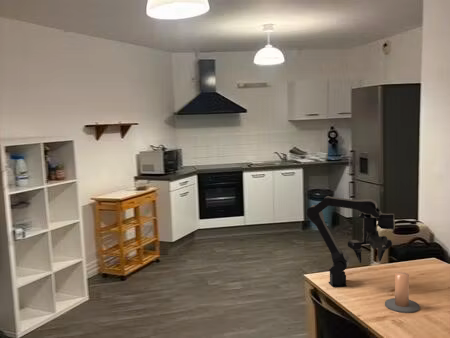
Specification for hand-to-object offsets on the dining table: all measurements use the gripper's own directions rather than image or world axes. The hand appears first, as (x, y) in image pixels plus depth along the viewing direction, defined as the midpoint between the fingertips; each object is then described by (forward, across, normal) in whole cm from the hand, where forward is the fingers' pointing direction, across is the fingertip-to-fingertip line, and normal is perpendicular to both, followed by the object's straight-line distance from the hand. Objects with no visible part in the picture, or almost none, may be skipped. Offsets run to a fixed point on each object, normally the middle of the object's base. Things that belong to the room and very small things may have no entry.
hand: (369, 262), depth 200 cm
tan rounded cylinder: (+11, +3, -21) cm, 24 cm away
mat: (+12, +3, -21) cm, 25 cm away
